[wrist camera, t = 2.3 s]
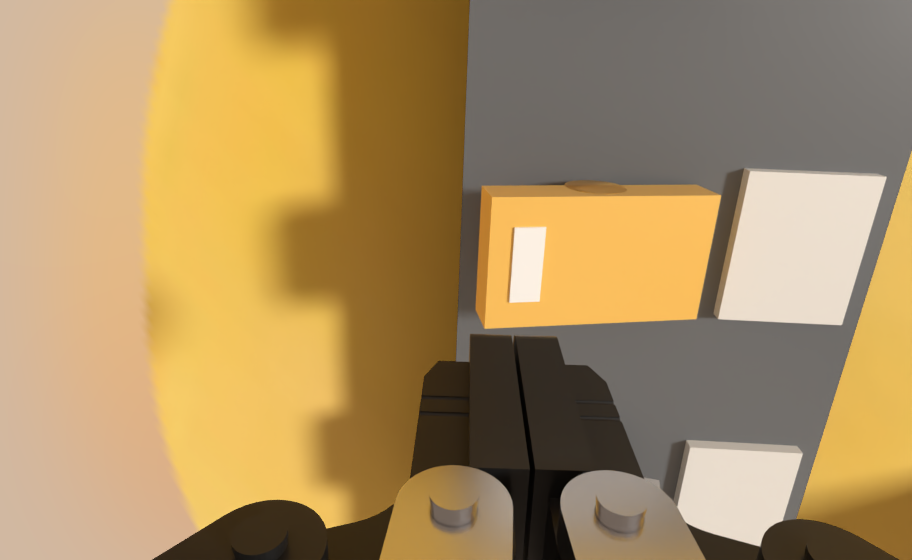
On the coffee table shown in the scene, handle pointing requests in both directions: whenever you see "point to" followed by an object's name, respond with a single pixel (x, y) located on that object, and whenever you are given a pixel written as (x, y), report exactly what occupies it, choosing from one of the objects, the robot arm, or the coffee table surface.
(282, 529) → the robot arm
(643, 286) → the block
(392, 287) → the coffee table surface
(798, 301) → the rocker switch panel
